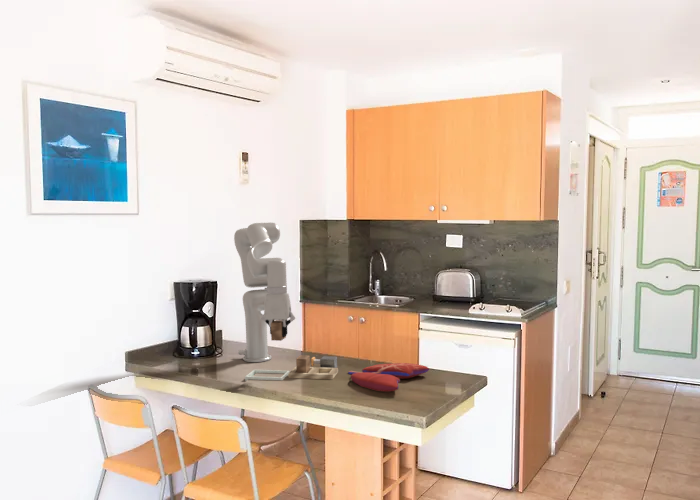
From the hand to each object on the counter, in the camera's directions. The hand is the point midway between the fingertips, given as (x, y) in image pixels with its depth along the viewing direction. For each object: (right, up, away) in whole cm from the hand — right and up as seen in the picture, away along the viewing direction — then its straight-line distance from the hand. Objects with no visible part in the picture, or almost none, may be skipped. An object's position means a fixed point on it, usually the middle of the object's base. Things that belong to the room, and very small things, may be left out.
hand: (278, 335), depth 242 cm
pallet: (+14, -17, +2) cm, 22 cm away
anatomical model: (+40, -17, -4) cm, 44 cm away
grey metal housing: (+20, -16, +11) cm, 28 cm away
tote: (-5, -17, +1) cm, 18 cm away
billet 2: (+10, -16, +3) cm, 19 cm away
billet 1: (0, -1, 0) cm, 1 cm away
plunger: (+15, -14, +12) cm, 24 cm away
